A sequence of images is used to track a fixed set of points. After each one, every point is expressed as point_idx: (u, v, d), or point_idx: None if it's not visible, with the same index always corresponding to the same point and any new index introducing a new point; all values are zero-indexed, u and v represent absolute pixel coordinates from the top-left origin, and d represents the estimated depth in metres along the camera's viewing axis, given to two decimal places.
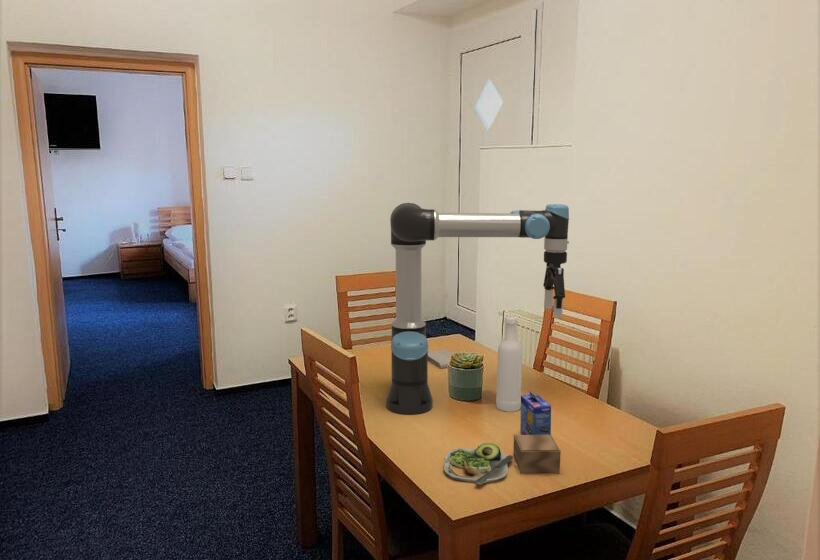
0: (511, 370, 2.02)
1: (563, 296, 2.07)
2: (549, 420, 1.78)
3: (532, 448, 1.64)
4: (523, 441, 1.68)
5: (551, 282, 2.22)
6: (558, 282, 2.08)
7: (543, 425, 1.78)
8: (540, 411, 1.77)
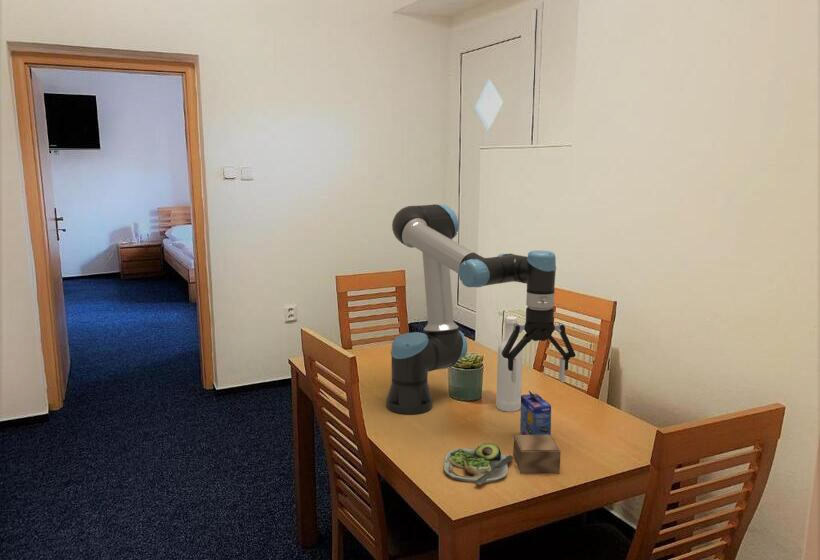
0: None
1: (502, 355, 1.78)
2: (549, 420, 1.78)
3: (532, 448, 1.64)
4: (523, 441, 1.68)
5: (556, 348, 1.79)
6: (509, 339, 1.79)
7: (543, 425, 1.78)
8: (540, 411, 1.77)
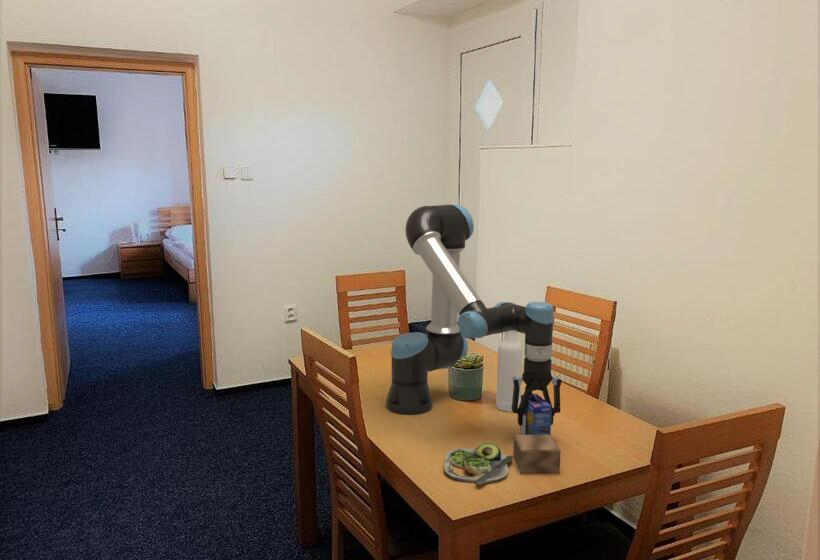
0: (511, 370, 2.02)
1: None
2: (549, 420, 1.78)
3: (532, 448, 1.64)
4: (523, 441, 1.68)
5: None
6: (513, 394, 1.82)
7: (543, 425, 1.78)
8: (540, 411, 1.77)
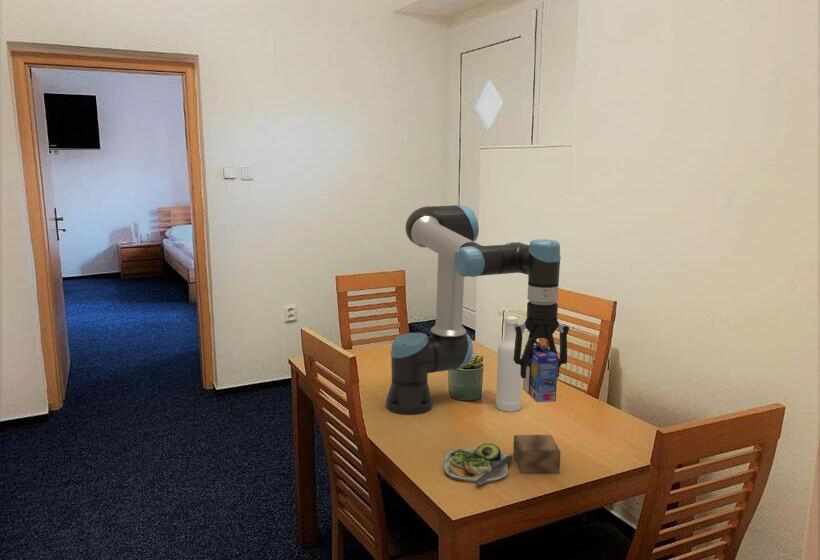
0: (511, 370, 2.02)
1: (515, 362, 1.63)
2: (555, 372, 1.60)
3: (532, 448, 1.64)
4: (523, 441, 1.68)
5: None
6: (515, 343, 1.63)
7: (548, 377, 1.60)
8: (545, 361, 1.59)
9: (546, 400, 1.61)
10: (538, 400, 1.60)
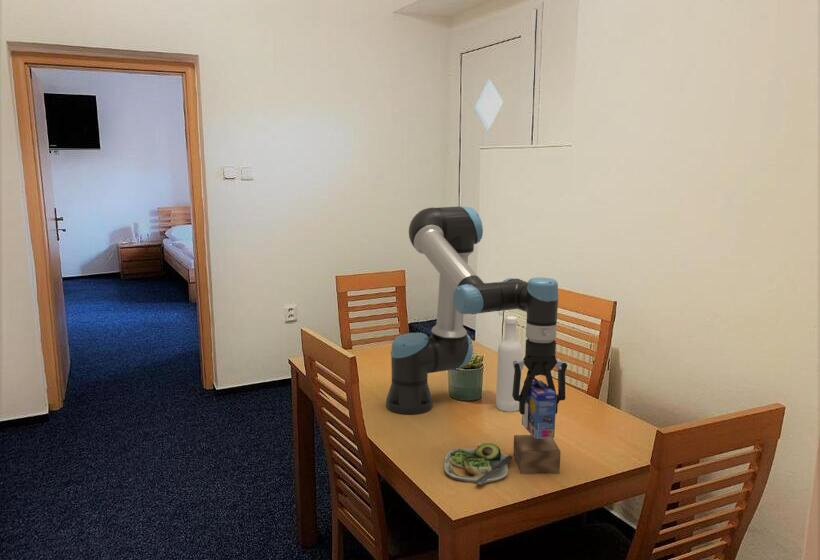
0: (511, 370, 2.02)
1: (514, 399, 1.65)
2: (554, 409, 1.61)
3: (532, 448, 1.64)
4: (523, 441, 1.68)
5: None
6: (514, 379, 1.65)
7: (547, 414, 1.61)
8: (544, 398, 1.60)
9: (544, 437, 1.62)
10: (537, 437, 1.62)
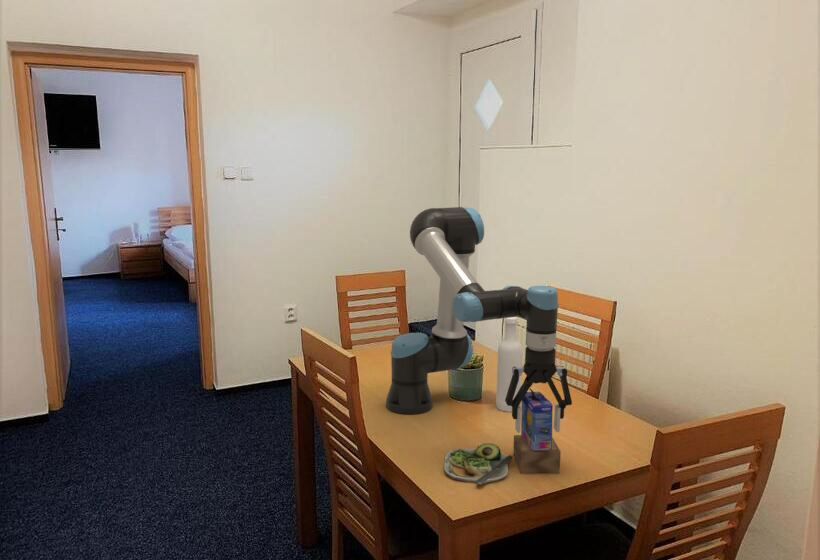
0: (511, 370, 2.02)
1: (506, 403, 1.65)
2: (550, 421, 1.62)
3: None
4: (523, 441, 1.68)
5: (553, 393, 1.65)
6: (510, 384, 1.65)
7: (543, 426, 1.62)
8: (540, 410, 1.61)
9: (542, 448, 1.63)
10: (534, 448, 1.63)
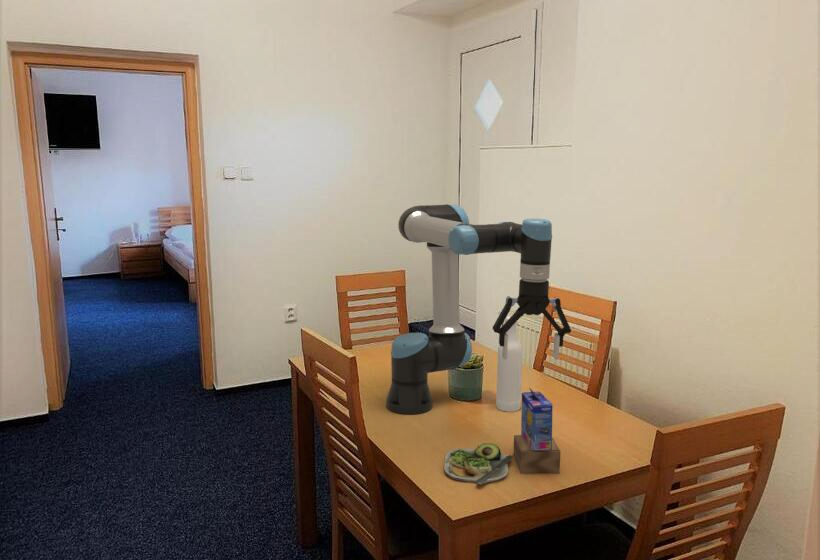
0: (511, 370, 2.02)
1: None
2: (550, 421, 1.62)
3: None
4: (523, 441, 1.68)
5: None
6: (501, 313, 1.68)
7: (543, 426, 1.62)
8: (540, 410, 1.61)
9: (542, 448, 1.63)
10: (534, 448, 1.63)
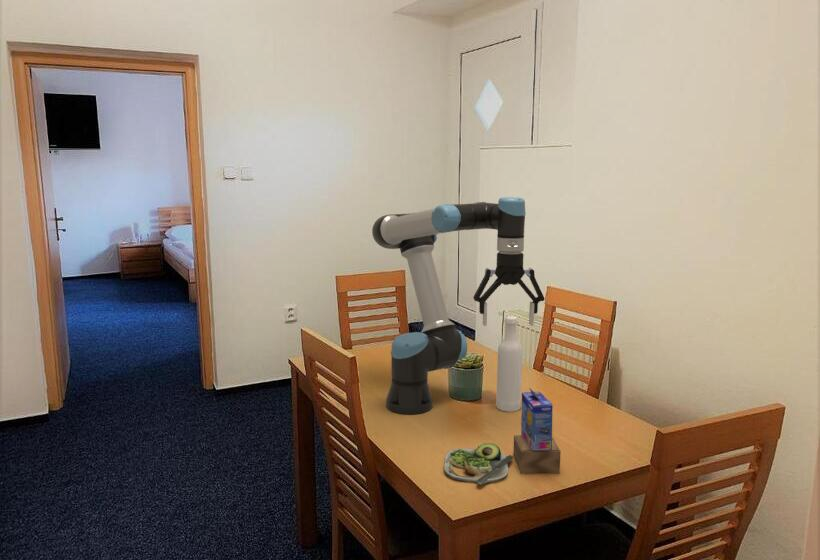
0: (511, 370, 2.02)
1: (474, 299, 1.84)
2: (550, 421, 1.62)
3: None
4: (523, 441, 1.68)
5: (526, 292, 1.85)
6: (480, 283, 1.85)
7: (543, 426, 1.62)
8: (540, 410, 1.61)
9: (542, 448, 1.63)
10: (534, 448, 1.63)
